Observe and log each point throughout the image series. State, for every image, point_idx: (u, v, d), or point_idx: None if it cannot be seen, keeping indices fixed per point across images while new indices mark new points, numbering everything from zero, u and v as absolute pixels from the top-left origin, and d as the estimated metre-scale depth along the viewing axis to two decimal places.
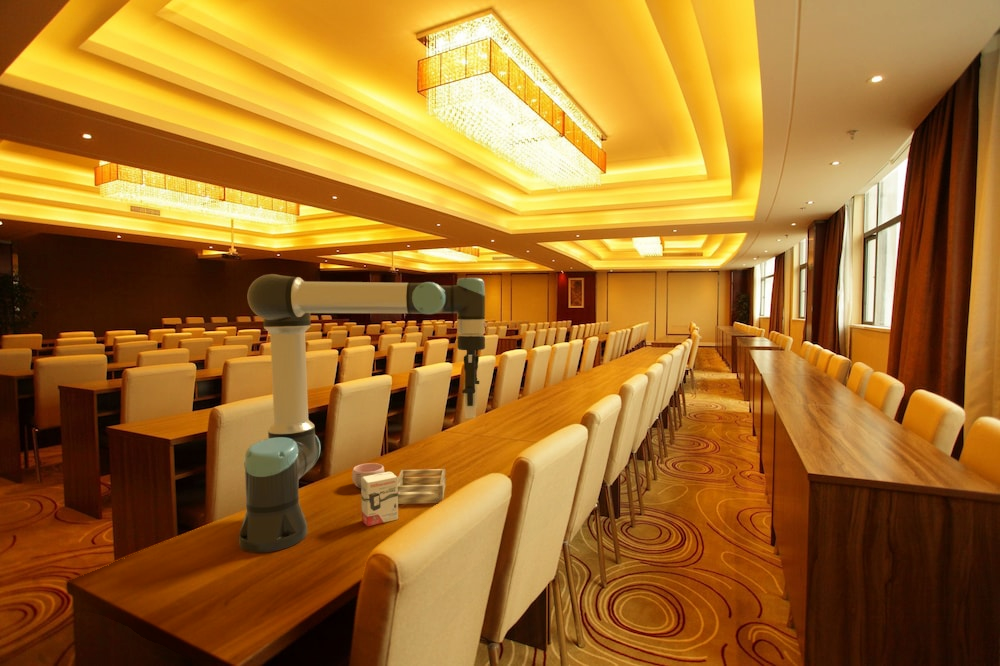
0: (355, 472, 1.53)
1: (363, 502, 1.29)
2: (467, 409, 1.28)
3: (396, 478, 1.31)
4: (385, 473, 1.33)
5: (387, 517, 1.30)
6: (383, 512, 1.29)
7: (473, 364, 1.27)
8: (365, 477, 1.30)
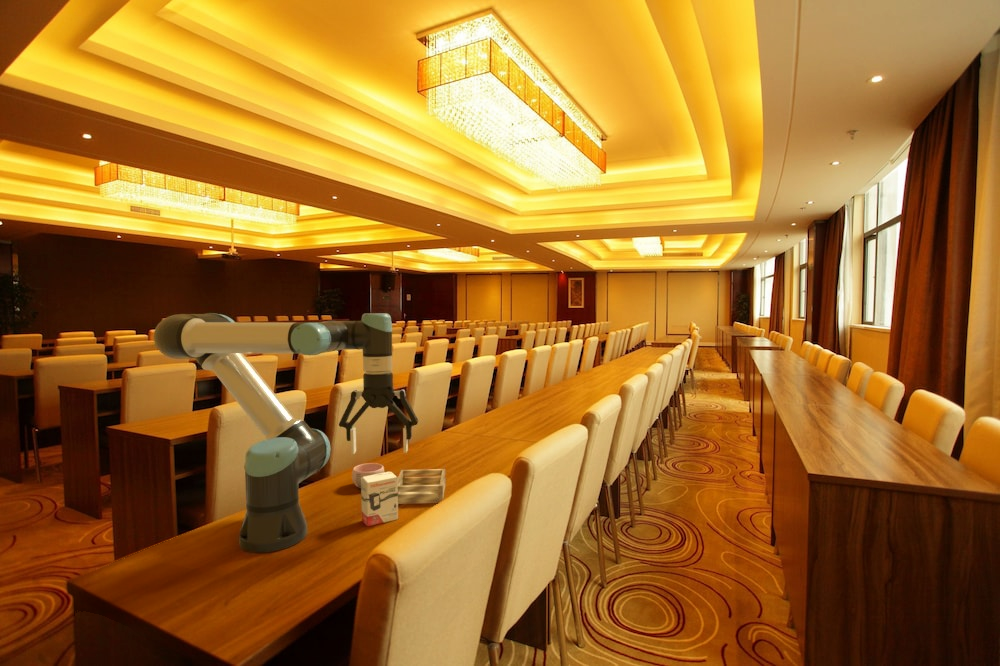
0: (355, 472, 1.53)
1: (363, 502, 1.29)
2: None
3: (396, 478, 1.31)
4: (385, 473, 1.33)
5: (387, 517, 1.30)
6: (383, 512, 1.29)
7: (350, 400, 1.28)
8: (365, 477, 1.30)
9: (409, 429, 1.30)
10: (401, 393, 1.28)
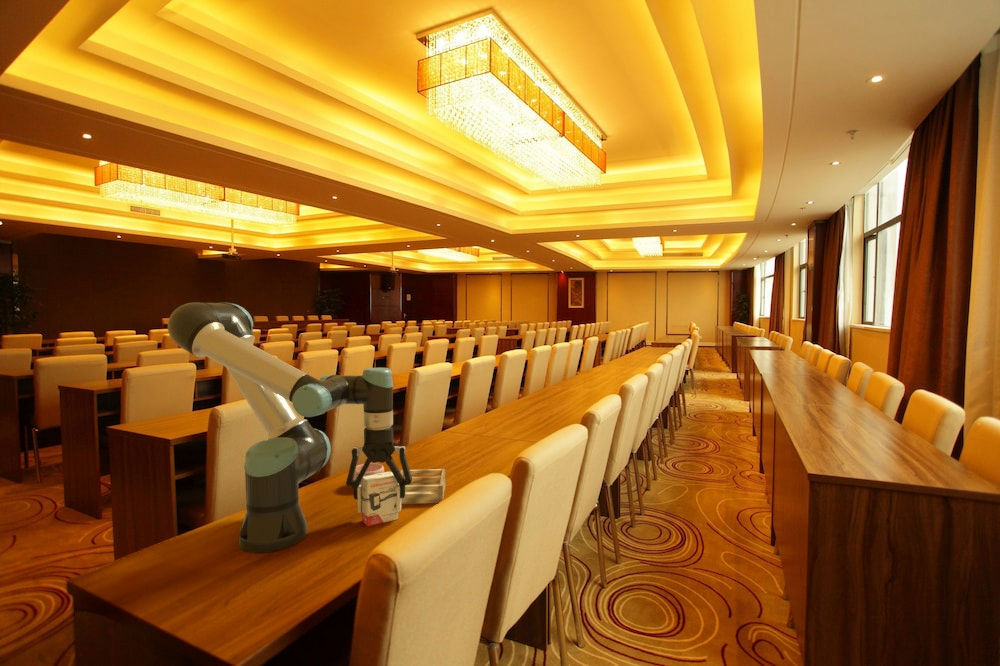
0: (355, 472, 1.53)
1: (363, 502, 1.29)
2: None
3: None
4: (385, 473, 1.33)
5: (387, 517, 1.30)
6: (383, 512, 1.29)
7: (352, 458, 1.29)
8: (365, 477, 1.30)
9: (403, 488, 1.30)
10: (401, 450, 1.29)
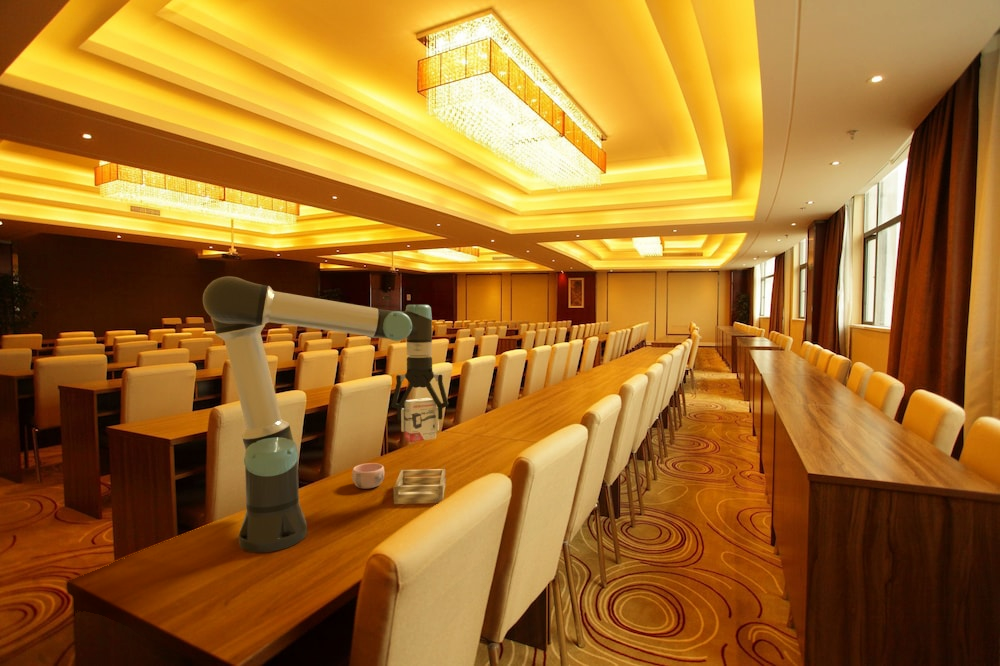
0: (355, 472, 1.53)
1: (406, 422, 1.46)
2: None
3: None
4: (424, 398, 1.51)
5: (427, 436, 1.47)
6: (424, 431, 1.46)
7: None
8: (407, 400, 1.47)
9: (440, 410, 1.48)
10: (440, 377, 1.47)
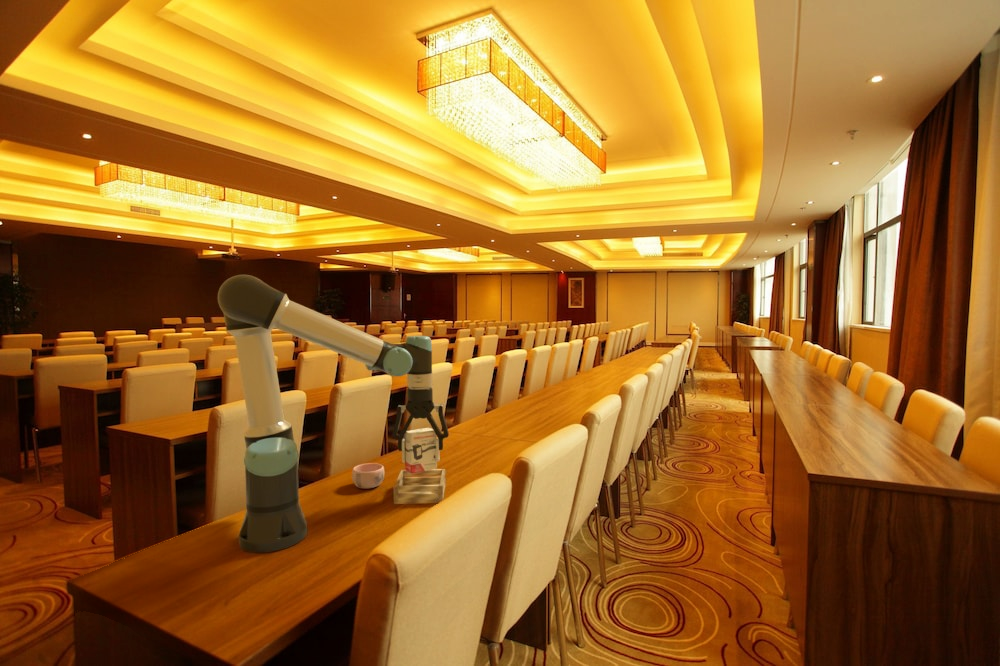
0: (355, 472, 1.53)
1: (407, 453, 1.47)
2: None
3: None
4: (425, 428, 1.51)
5: (428, 466, 1.48)
6: (424, 462, 1.47)
7: (397, 415, 1.47)
8: (408, 431, 1.48)
9: (441, 441, 1.48)
10: (440, 408, 1.47)
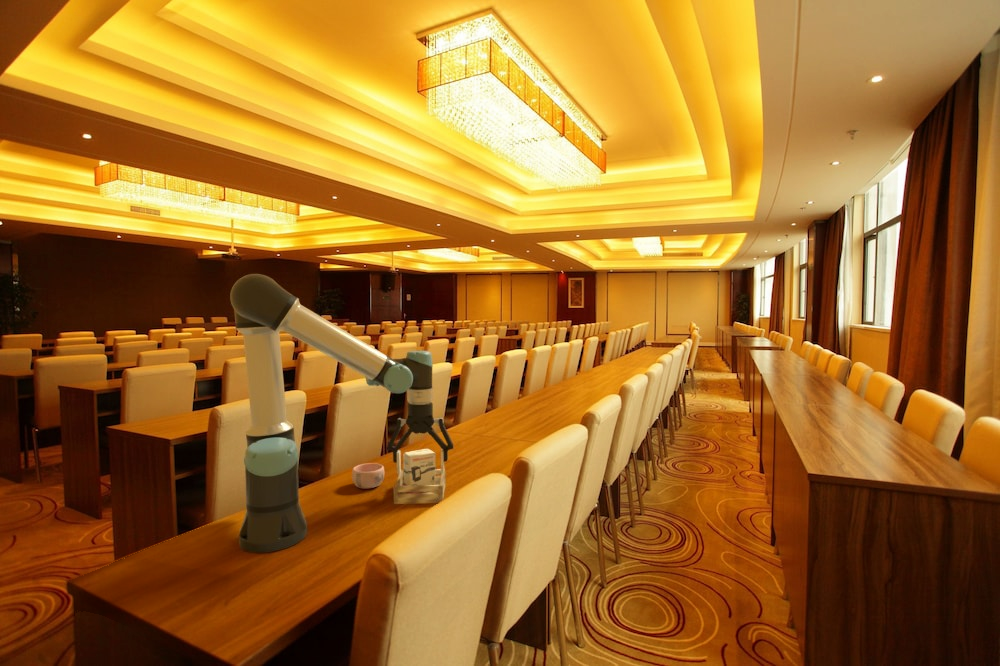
0: (355, 472, 1.53)
1: (405, 474, 1.47)
2: None
3: (434, 454, 1.49)
4: (423, 449, 1.51)
5: None
6: (423, 483, 1.47)
7: (396, 427, 1.47)
8: (407, 453, 1.48)
9: (446, 452, 1.49)
10: (440, 421, 1.48)
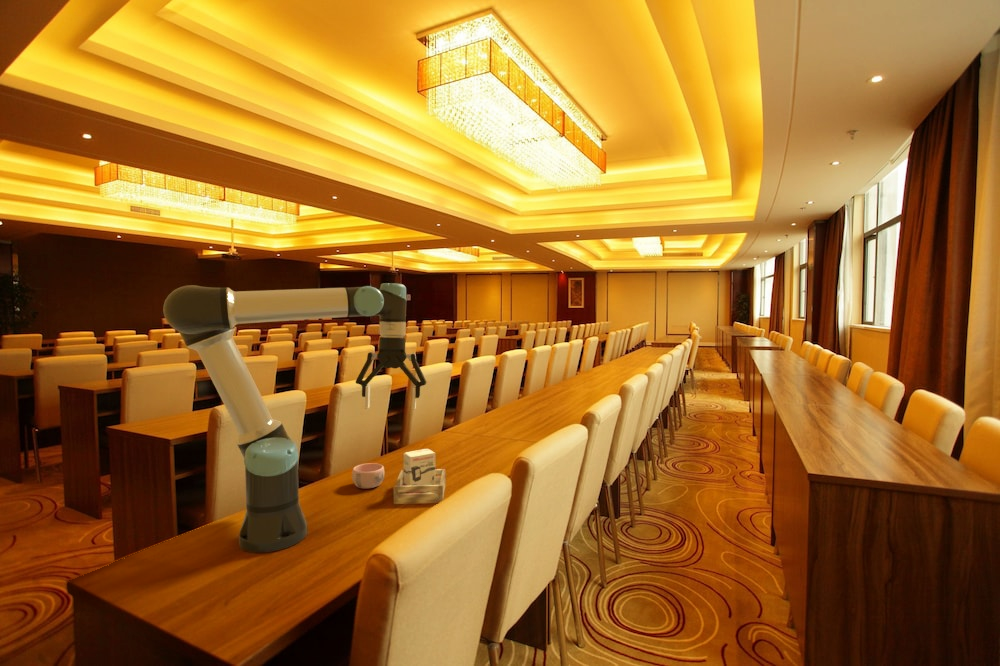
0: (355, 472, 1.53)
1: (405, 474, 1.47)
2: None
3: (434, 454, 1.49)
4: (424, 449, 1.51)
5: None
6: (423, 483, 1.47)
7: None
8: (407, 453, 1.48)
9: (418, 389, 1.45)
10: (412, 356, 1.44)
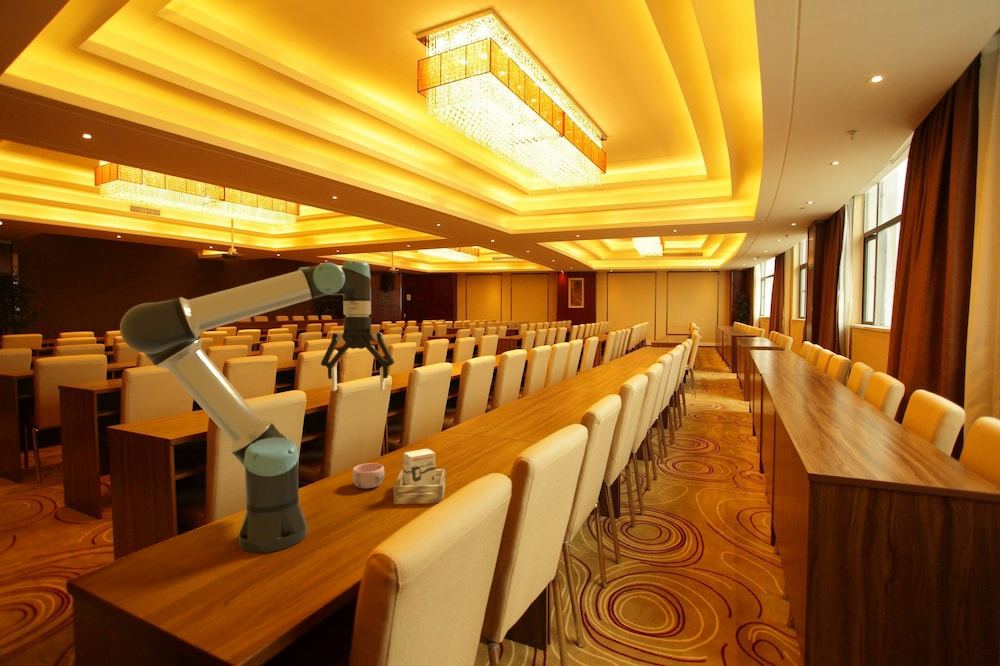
0: (355, 472, 1.53)
1: (405, 474, 1.47)
2: None
3: (434, 454, 1.49)
4: (424, 449, 1.51)
5: None
6: (423, 483, 1.47)
7: None
8: (407, 453, 1.48)
9: (385, 369, 1.41)
10: (378, 335, 1.40)
